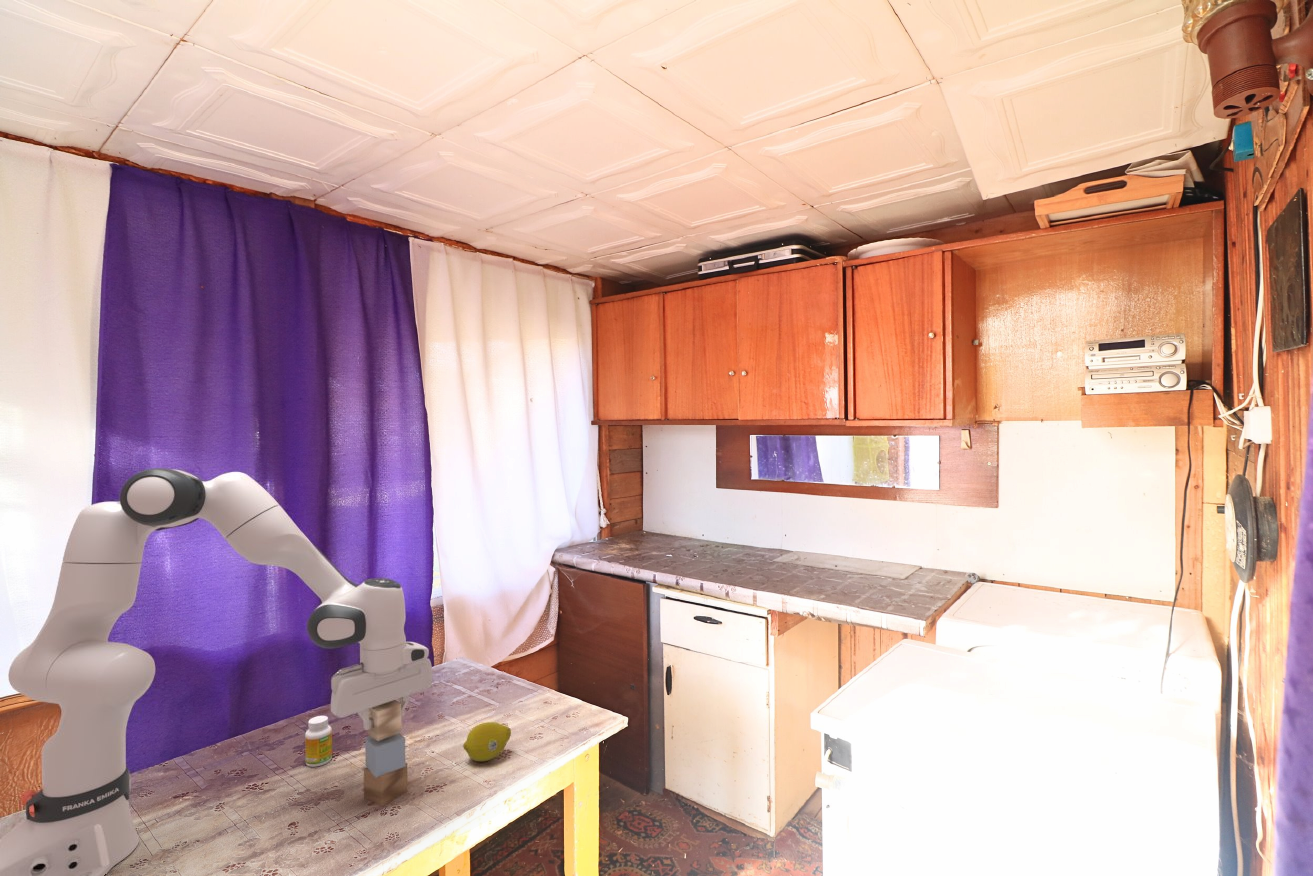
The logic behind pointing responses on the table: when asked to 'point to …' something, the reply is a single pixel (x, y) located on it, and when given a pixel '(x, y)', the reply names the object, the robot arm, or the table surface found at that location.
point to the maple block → (385, 720)
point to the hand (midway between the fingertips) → (384, 722)
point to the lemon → (486, 741)
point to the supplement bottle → (318, 742)
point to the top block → (385, 754)
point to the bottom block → (385, 785)
